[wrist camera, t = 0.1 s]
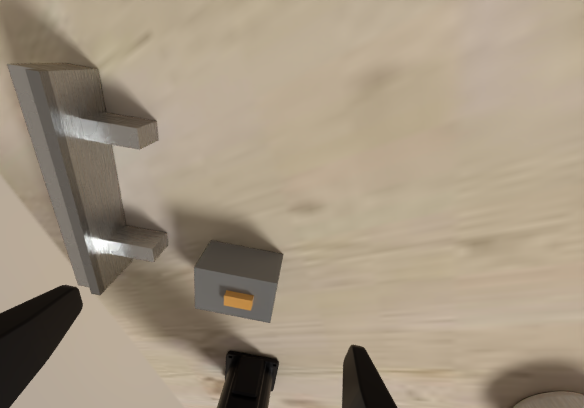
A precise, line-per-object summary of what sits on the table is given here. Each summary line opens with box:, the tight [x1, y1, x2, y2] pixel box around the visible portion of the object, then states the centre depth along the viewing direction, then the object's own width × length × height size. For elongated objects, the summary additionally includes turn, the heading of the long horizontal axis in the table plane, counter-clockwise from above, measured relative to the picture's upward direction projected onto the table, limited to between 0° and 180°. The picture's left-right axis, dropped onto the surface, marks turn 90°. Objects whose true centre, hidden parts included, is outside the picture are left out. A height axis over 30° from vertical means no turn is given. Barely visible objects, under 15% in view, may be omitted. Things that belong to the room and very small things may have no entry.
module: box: [194, 240, 283, 323], centre depth 25 cm, size 5×7×5 cm
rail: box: [7, 63, 168, 295], centre depth 22 cm, size 18×6×5 cm, turn 171°
